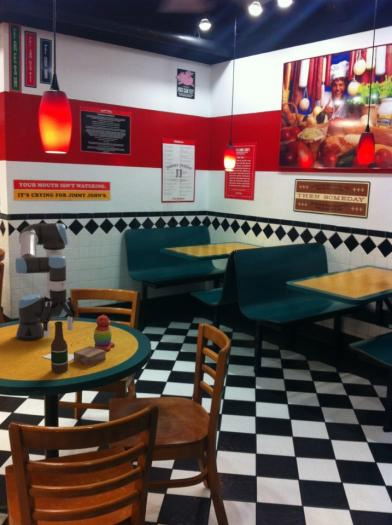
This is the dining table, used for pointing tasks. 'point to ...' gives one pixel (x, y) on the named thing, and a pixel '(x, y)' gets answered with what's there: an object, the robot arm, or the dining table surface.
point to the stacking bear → (103, 334)
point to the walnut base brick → (89, 356)
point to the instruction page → (70, 357)
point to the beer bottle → (59, 351)
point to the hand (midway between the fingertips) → (58, 333)
